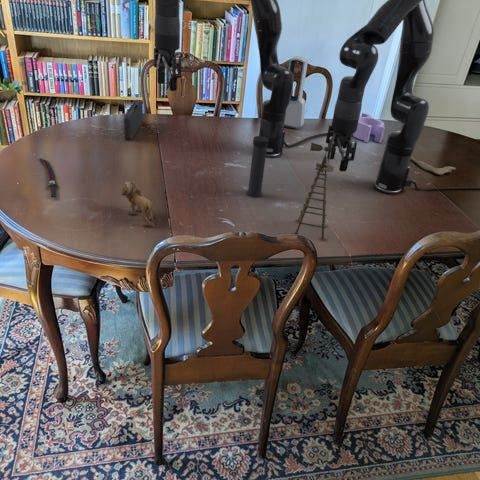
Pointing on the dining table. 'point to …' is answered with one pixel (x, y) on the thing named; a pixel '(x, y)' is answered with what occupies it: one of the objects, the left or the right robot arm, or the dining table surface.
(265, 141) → the lid
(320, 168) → the miniature windmill
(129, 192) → the lion figurine
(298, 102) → the electronic device
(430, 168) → the jawbone
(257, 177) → the dark grey cylinder
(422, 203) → the dining table surface
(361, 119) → the clip
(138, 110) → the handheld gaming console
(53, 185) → the sword
